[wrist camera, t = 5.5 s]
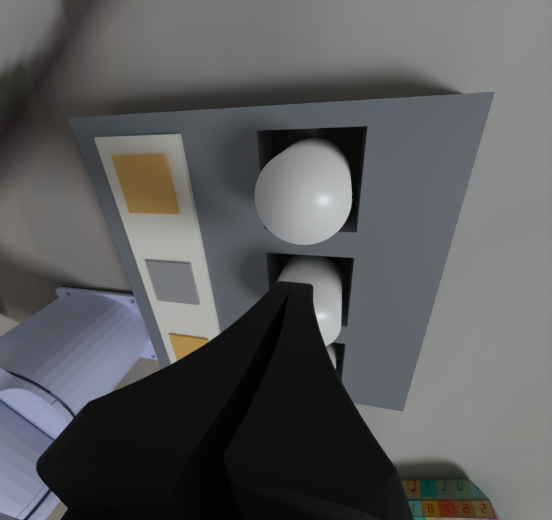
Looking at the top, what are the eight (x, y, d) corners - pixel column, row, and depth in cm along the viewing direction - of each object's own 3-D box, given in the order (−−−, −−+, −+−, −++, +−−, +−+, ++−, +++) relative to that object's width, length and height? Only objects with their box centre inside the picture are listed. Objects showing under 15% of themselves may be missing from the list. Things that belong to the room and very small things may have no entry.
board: (179, 345, 27) (158, 374, 24) (109, 116, 17) (59, 118, 14) (396, 376, 23) (403, 417, 20) (465, 94, 13) (500, 91, 10)
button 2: (277, 213, 16) (258, 242, 13) (273, 139, 14) (250, 150, 11) (347, 215, 15) (347, 247, 12) (353, 136, 13) (356, 147, 10)
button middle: (281, 302, 19) (267, 344, 16) (279, 251, 17) (262, 287, 14) (340, 307, 18) (338, 354, 15) (344, 255, 16) (343, 294, 13)
